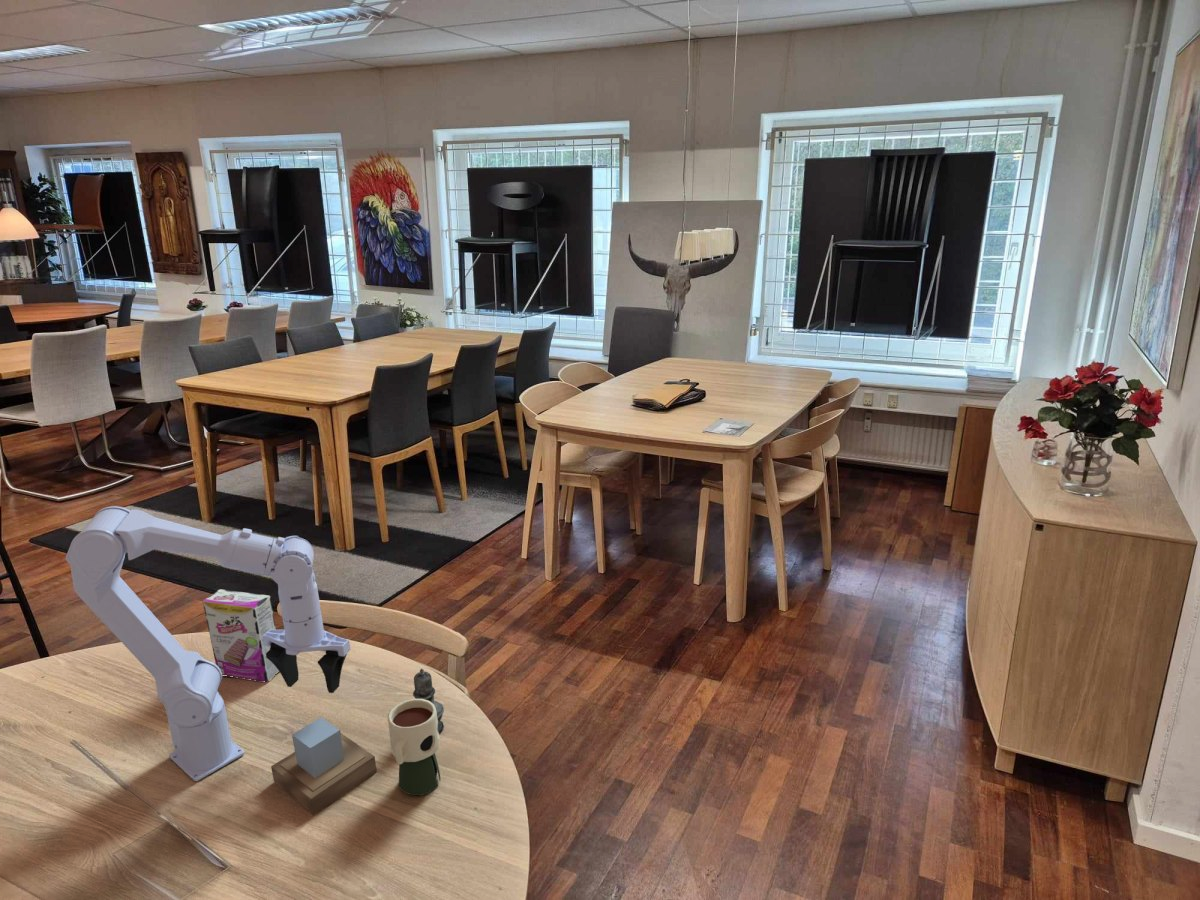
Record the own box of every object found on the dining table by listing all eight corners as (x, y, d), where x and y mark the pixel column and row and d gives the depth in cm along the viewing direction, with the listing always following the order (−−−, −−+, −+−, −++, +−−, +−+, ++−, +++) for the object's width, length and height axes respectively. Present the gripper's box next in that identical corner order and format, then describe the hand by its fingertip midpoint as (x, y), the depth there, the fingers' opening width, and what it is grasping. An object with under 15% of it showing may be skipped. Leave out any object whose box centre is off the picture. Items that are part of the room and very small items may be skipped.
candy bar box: (216, 677, 143) (200, 601, 137) (234, 662, 147) (219, 587, 142) (267, 684, 140) (253, 607, 135) (284, 669, 145) (271, 593, 140)
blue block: (297, 764, 116) (291, 734, 114) (326, 746, 119) (321, 717, 118) (315, 778, 113) (310, 748, 111) (344, 759, 116) (339, 730, 115)
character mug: (426, 814, 110) (418, 740, 106) (382, 807, 111) (372, 734, 107) (455, 762, 120) (449, 693, 116) (414, 756, 121) (406, 688, 117)
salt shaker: (437, 742, 124) (430, 681, 120) (404, 738, 125) (396, 677, 122) (451, 719, 130) (445, 660, 126) (419, 716, 131) (412, 656, 127)
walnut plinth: (273, 782, 116) (270, 765, 115) (336, 743, 125) (333, 727, 124) (313, 815, 110) (310, 798, 109) (376, 771, 118) (374, 755, 117)
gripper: (245, 621, 117) (259, 695, 121) (327, 632, 114) (339, 707, 118) (273, 599, 123) (286, 669, 128) (353, 608, 120) (362, 680, 124)
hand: (313, 686), depth 123 cm, fingers open, 7 cm apart
